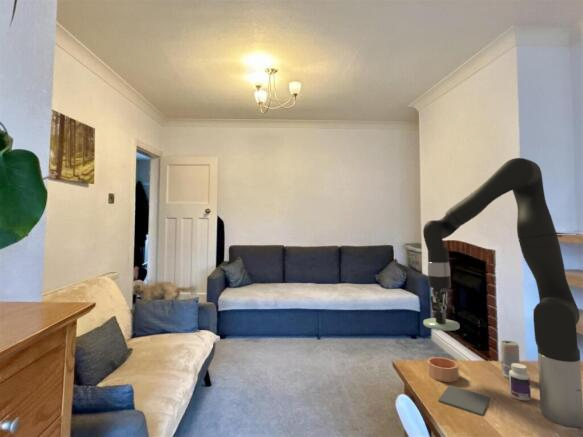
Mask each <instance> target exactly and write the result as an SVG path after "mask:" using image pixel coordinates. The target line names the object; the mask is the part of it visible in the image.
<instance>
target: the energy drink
mask: <svg viewBox="0 0 583 437" xmlns="http://www.w3.org/2000/svg"><path fill="white" fill-rule="evenodd" d="M500 354H501V355H500V356H501V358H500V360H501V375H502V376H503V377H504V378H506V379H508V380H509V371H510V370H512V369H511V364H512V363H518V364H521V361H520V347H519V344H518V343H517V342H516V341H512V340H501V342H500Z"/></svg>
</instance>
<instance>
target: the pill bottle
mask: <svg viewBox="0 0 583 437" xmlns="http://www.w3.org/2000/svg"><path fill="white" fill-rule="evenodd" d="M511 369H512V370H510V371H509V379H508V380H509V381H508V382H509V394H510V396H511V397H513V398H514V399H515V400H519V401H522V402H523V401H525V402H526V401H530V400H531V398H532V393H531V376H530V374H529V373H527V372H528V368H527V365H525V364H522V363H520V364H518V363H512V364H511Z"/></svg>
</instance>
